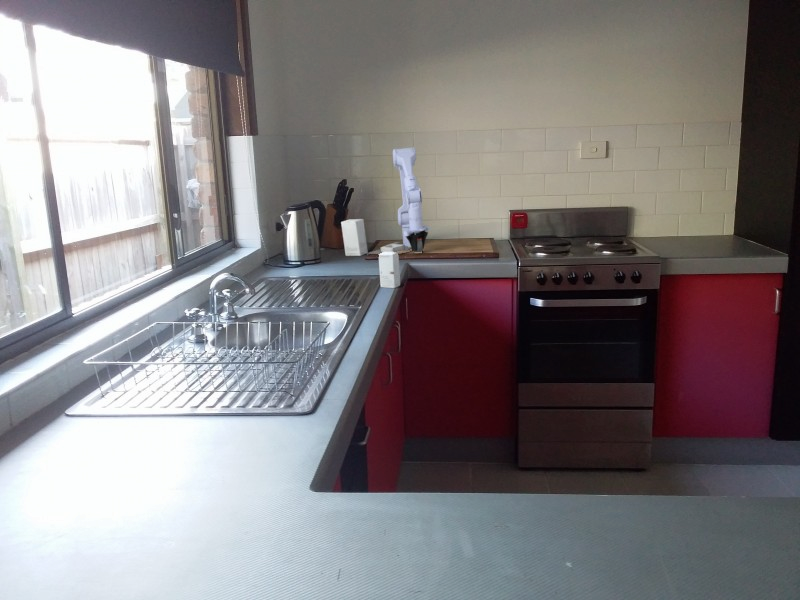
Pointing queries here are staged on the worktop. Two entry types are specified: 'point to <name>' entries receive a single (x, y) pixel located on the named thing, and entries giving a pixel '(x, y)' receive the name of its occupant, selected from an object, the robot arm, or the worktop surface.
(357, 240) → the skincare box
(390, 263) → the skincare box
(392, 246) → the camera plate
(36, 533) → the worktop surface
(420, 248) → the jar with red lid
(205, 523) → the worktop surface
